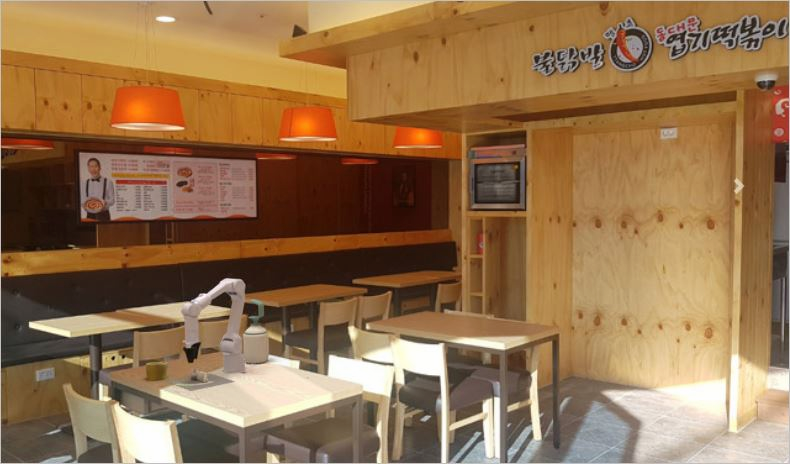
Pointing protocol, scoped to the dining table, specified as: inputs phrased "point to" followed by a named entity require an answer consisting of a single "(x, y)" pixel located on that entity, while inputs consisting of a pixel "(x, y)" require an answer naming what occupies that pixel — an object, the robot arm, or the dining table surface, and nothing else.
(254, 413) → the dining table surface
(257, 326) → the soap bottle
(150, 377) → the mug
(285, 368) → the dining table surface
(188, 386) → the tuner board
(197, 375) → the tuning dial
